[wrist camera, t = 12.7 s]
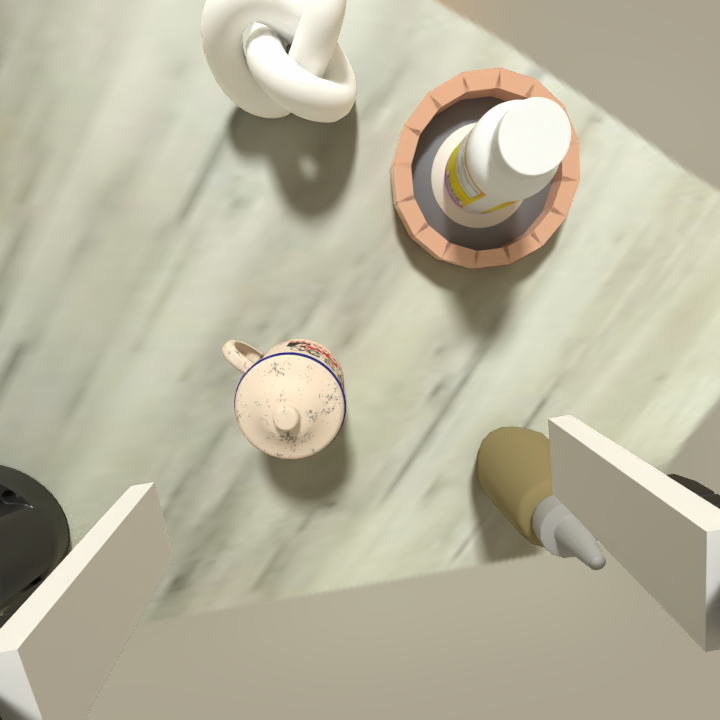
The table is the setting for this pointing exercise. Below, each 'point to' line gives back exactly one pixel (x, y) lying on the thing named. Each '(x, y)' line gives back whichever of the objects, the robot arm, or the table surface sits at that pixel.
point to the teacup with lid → (288, 396)
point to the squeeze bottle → (532, 494)
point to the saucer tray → (427, 166)
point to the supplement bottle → (508, 155)
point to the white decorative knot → (280, 57)
